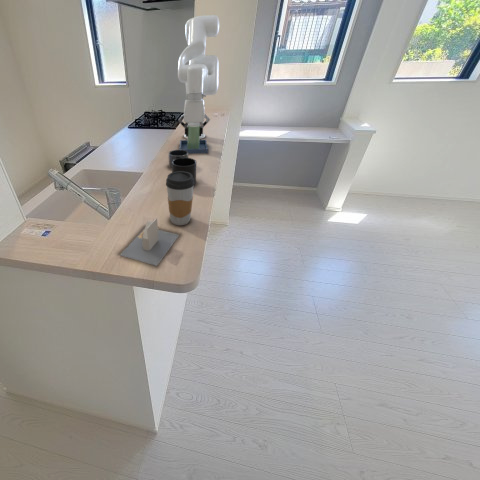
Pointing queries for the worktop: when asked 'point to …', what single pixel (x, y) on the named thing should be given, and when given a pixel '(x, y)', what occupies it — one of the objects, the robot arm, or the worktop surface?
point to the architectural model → (150, 244)
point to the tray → (202, 149)
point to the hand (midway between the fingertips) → (193, 135)
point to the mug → (185, 166)
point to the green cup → (193, 136)
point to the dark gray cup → (177, 155)
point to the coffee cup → (180, 196)
